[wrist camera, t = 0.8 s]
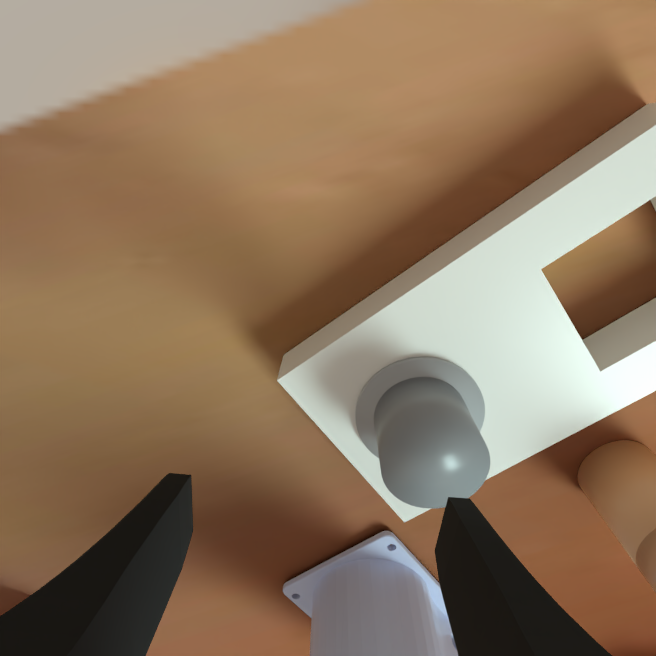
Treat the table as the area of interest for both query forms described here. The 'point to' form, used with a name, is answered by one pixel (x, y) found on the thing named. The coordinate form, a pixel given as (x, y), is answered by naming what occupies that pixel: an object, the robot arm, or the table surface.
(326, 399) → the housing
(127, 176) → the table surface
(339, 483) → the table surface
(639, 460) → the tan round-topped peg
